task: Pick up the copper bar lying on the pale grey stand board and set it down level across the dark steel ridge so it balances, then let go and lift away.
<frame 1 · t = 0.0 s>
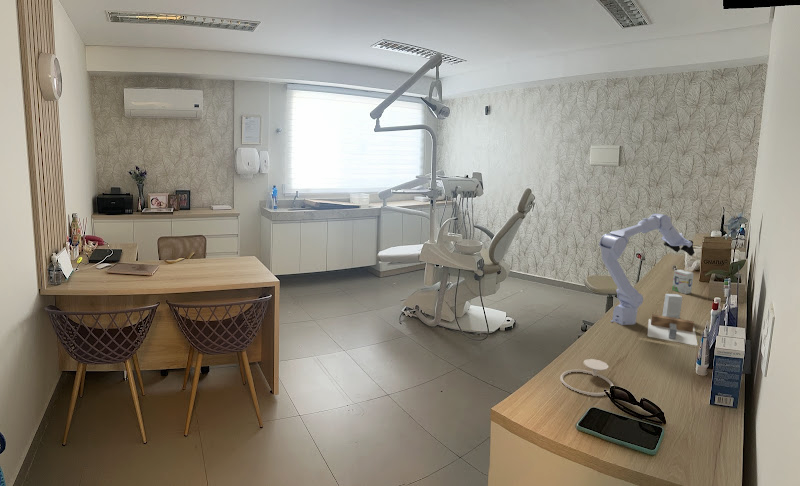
hand: (685, 252, 215), 32 cm above the worktop, tool tilted 50°, fingers open, 7 cm apart
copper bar: (671, 327, 208), point 1 cm above the worktop, touching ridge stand
hand towel holder: (588, 382, 159), on the worktop
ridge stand: (671, 333, 204), on the worktop
skincare box: (670, 320, 221), on the worktop
ink box: (681, 292, 266), on the worktop
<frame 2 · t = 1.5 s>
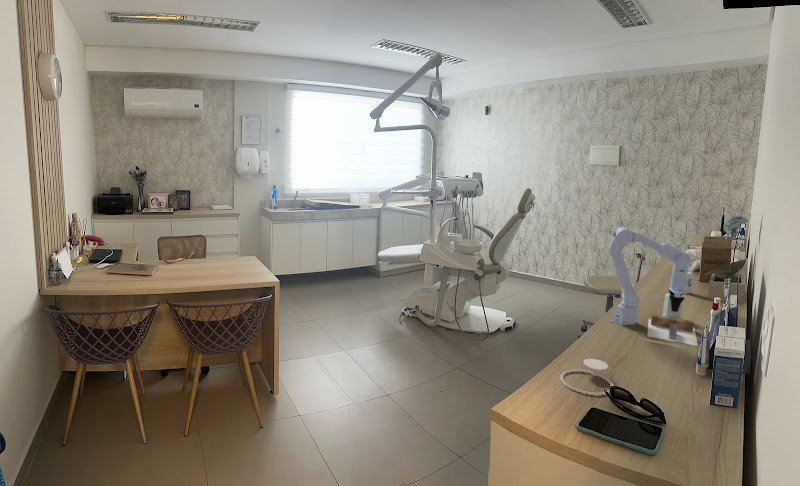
hand: (674, 308, 207), 10 cm above the worktop, tool pointing down, fingers open, 7 cm apart
nothing on the worktop moved.
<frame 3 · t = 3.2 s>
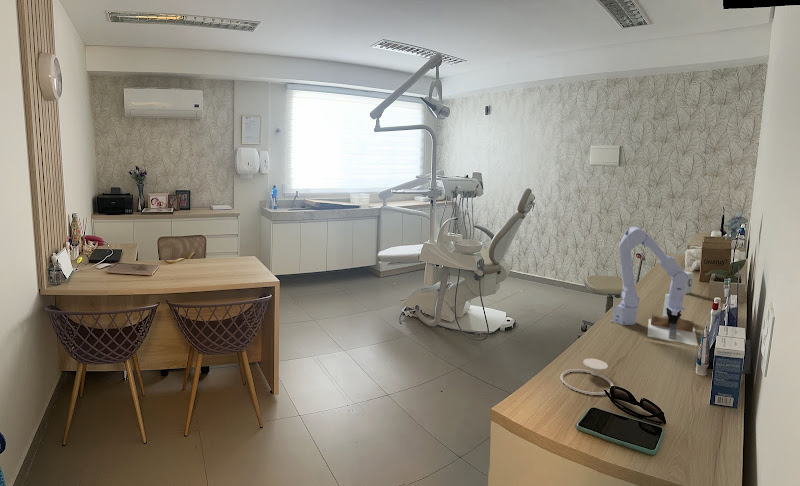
hand: (671, 326, 208), 2 cm above the worktop, tool pointing down, fingers closed on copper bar, 3 cm apart
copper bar: (671, 327, 208), point 1 cm above the worktop, touching gripper, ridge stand
everything else where it was.
when the fingers open (7 cm above the worktop, at t = 6.5 s): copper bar stays where it is, resting on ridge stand.
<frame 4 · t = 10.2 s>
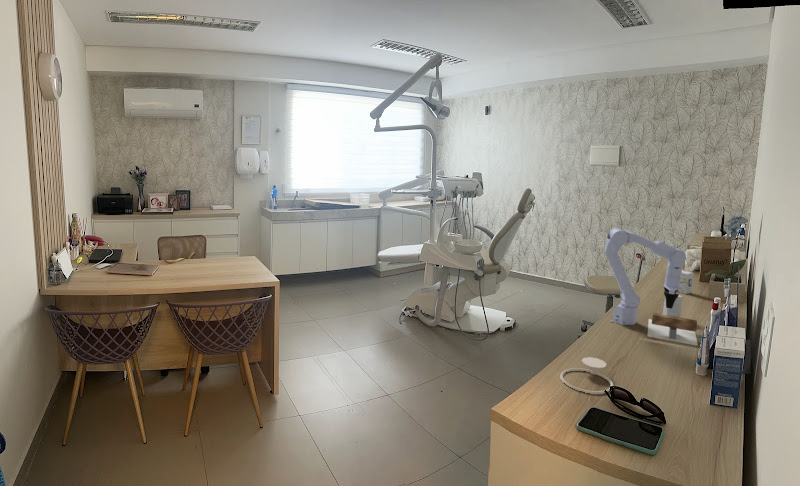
hand: (668, 305, 208), 10 cm above the worktop, tool pointing down, fingers open, 7 cm apart
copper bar: (673, 326, 198), point 5 cm above the worktop, touching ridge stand
at the end: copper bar point 5.0 cm above the worktop; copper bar 0.0 cm from the target spot on the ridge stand, point 5.0 cm above the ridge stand's base; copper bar tilted 0° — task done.
